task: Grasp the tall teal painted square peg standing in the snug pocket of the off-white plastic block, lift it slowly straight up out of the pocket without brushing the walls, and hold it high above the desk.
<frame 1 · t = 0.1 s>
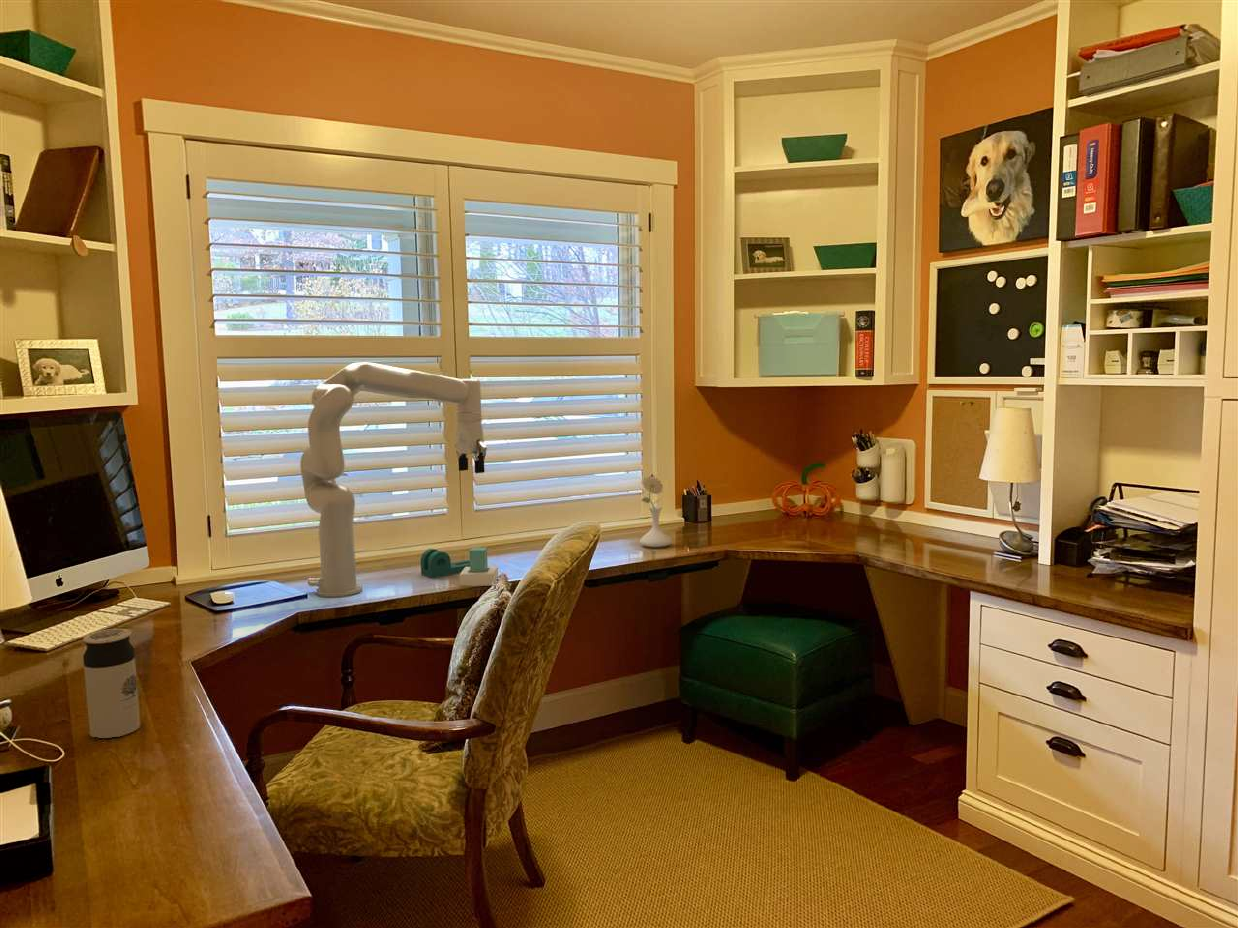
hand: (471, 471, 286), 31 cm above the table, tool pointing down, fingers open, 9 cm apart
teal peg: (478, 565, 270), in the pocket block
pocket block: (479, 581, 271), on the table
travel mug: (115, 732, 163), on the table
flower in vase: (654, 546, 319), on the table
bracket: (452, 572, 285), on the table
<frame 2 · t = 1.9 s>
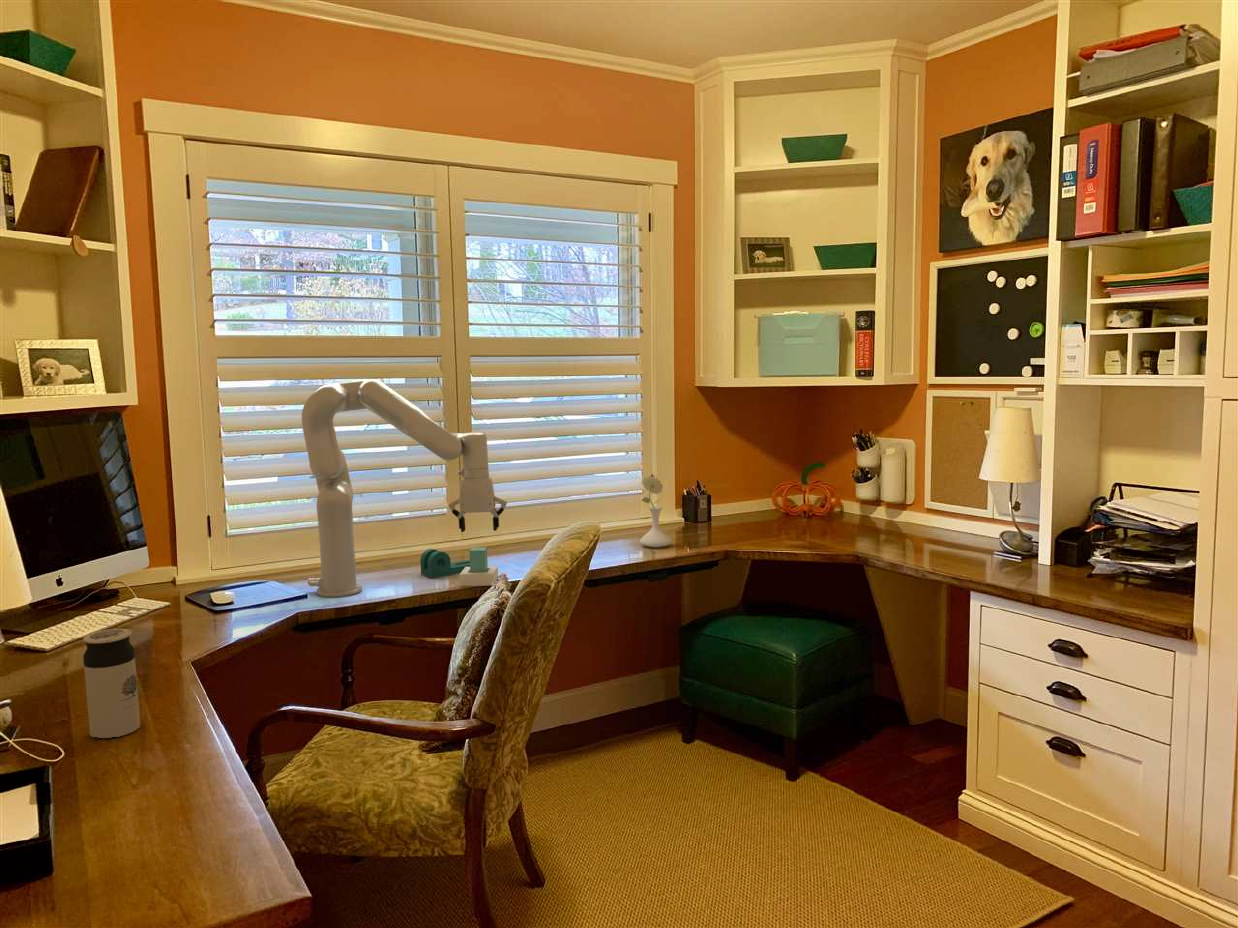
hand: (479, 530, 269), 16 cm above the table, tool pointing down, fingers open, 9 cm apart
nothing on the table moved.
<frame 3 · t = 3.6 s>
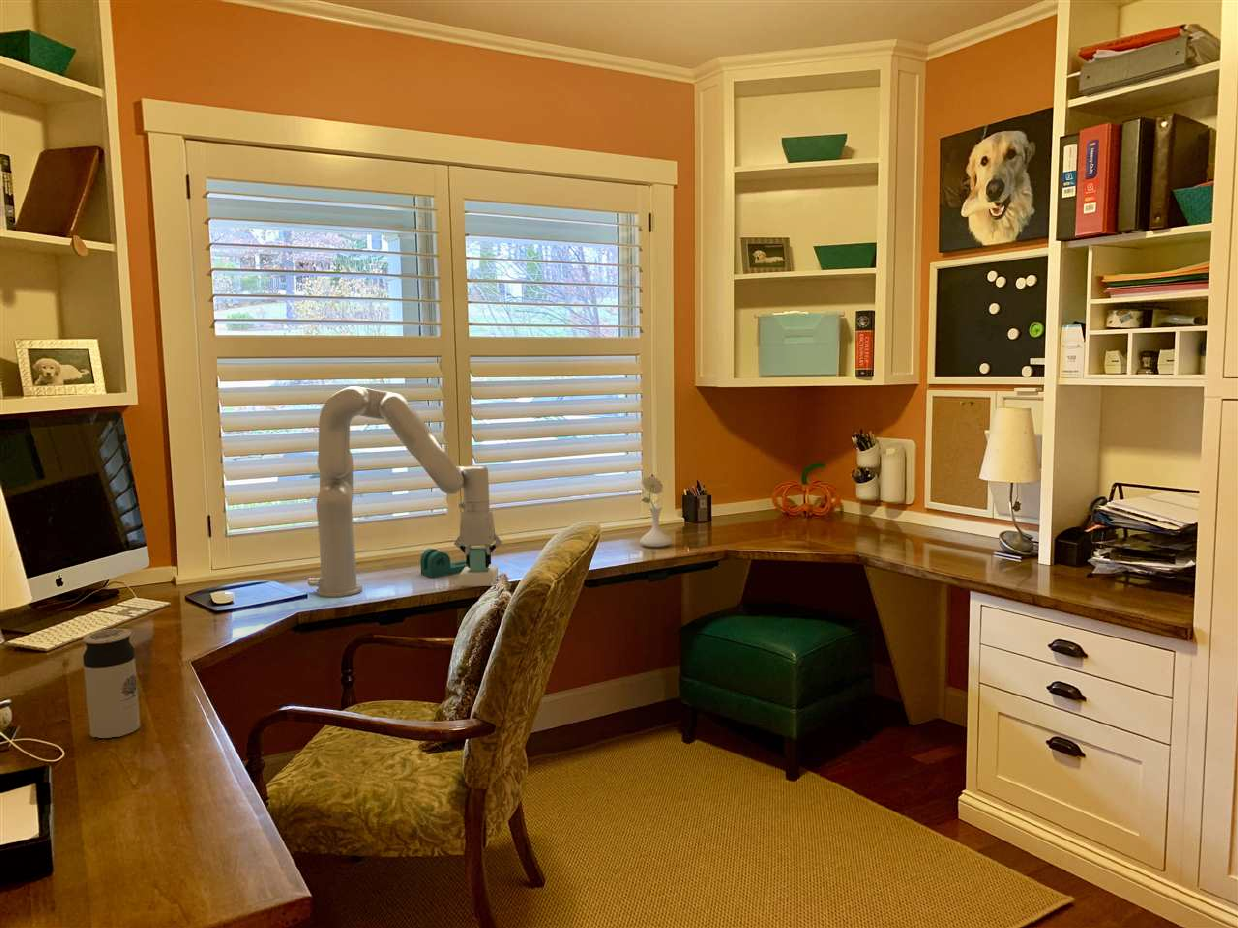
hand: (479, 566, 270), 5 cm above the table, tool pointing down, fingers closed on teal peg, 4 cm apart
teal peg: (478, 565, 270), in the pocket block, touching gripper
everything else where it was.
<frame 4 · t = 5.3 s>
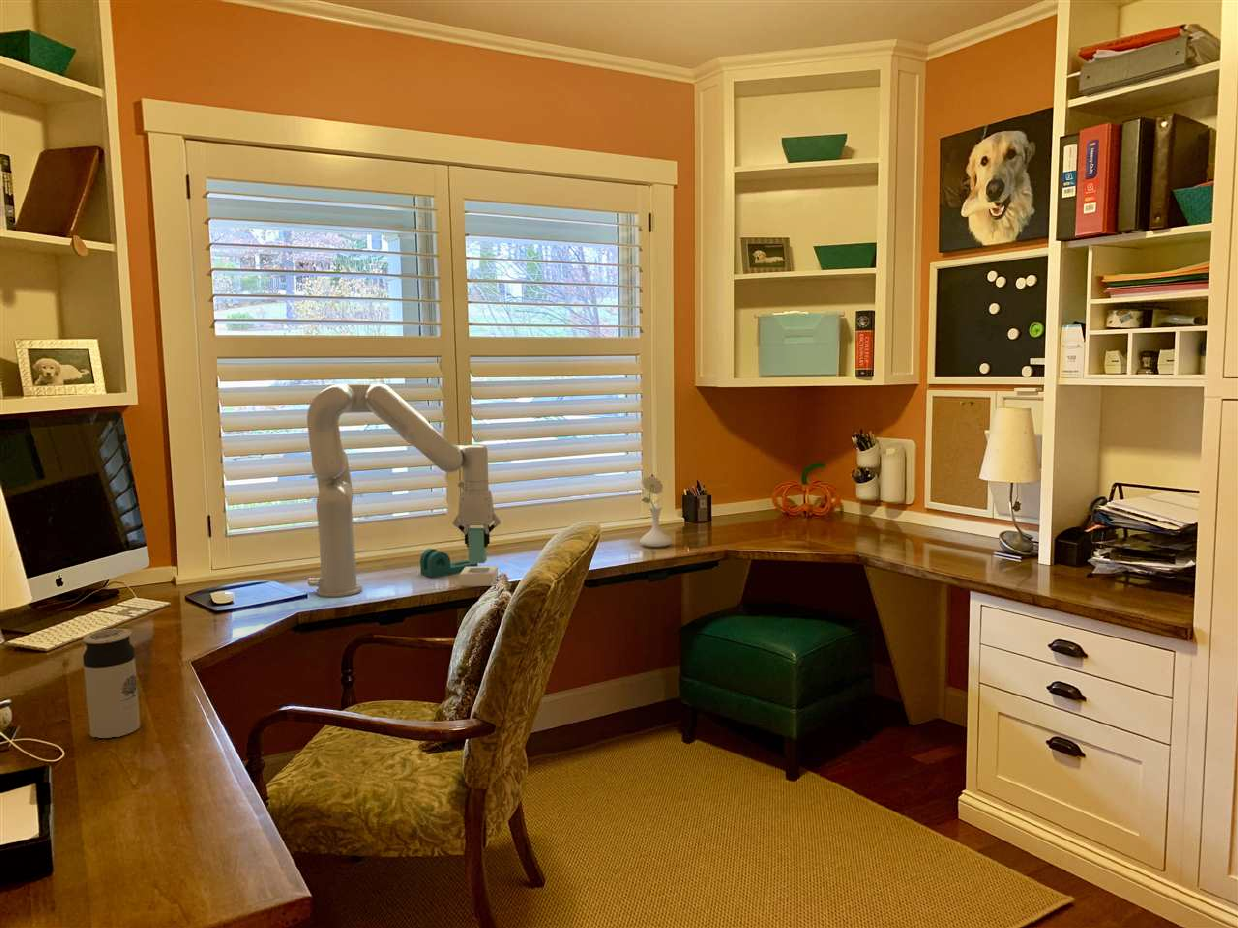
hand: (477, 546, 269), 11 cm above the table, tool pointing down, fingers closed on teal peg, 4 cm apart
teal peg: (477, 545, 269), point 11 cm above the table, touching gripper
everything else where it was.
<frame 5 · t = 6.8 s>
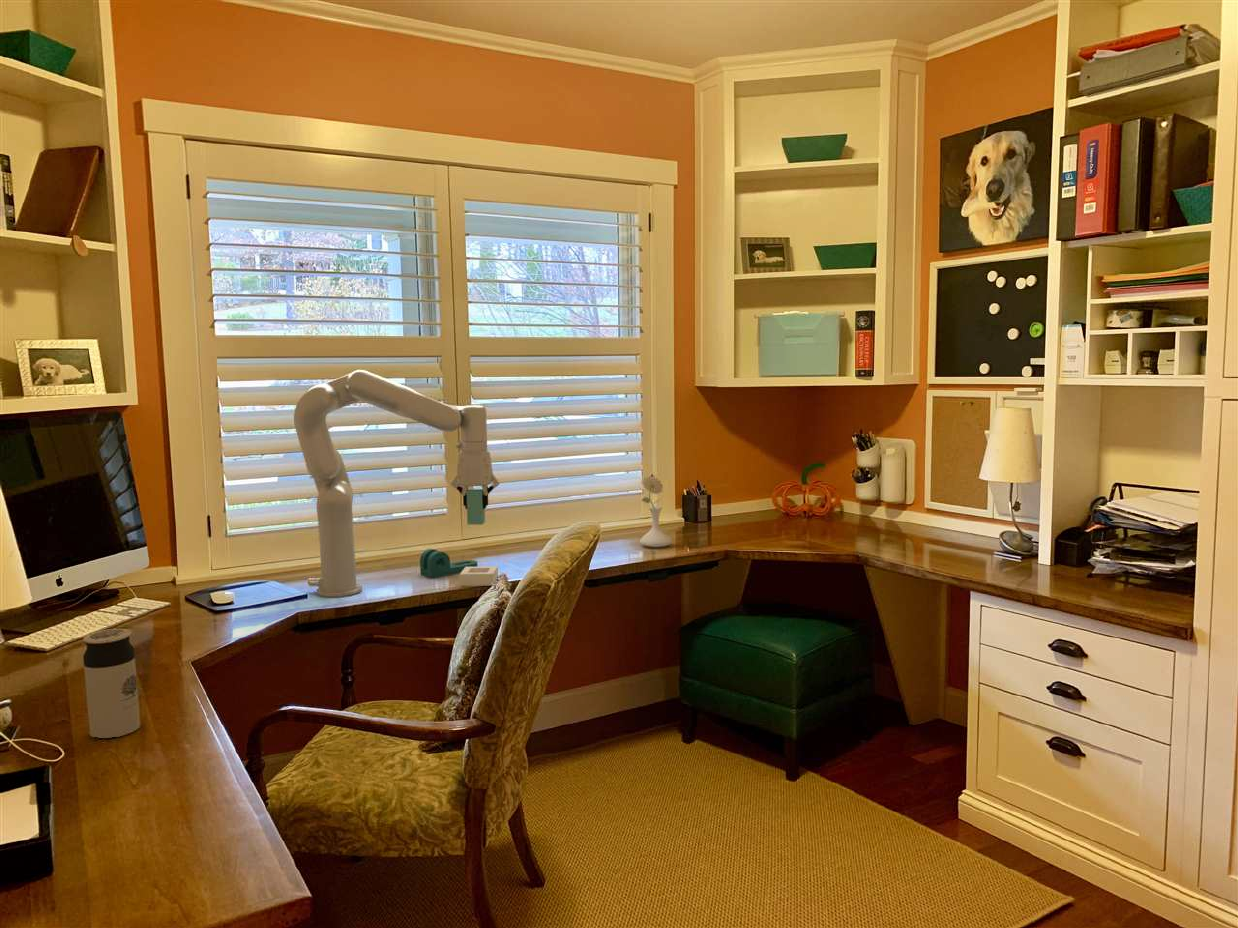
hand: (475, 507, 268), 23 cm above the table, tool pointing down, fingers closed on teal peg, 4 cm apart
teal peg: (475, 506, 268), point 23 cm above the table, touching gripper
everything else where it was.
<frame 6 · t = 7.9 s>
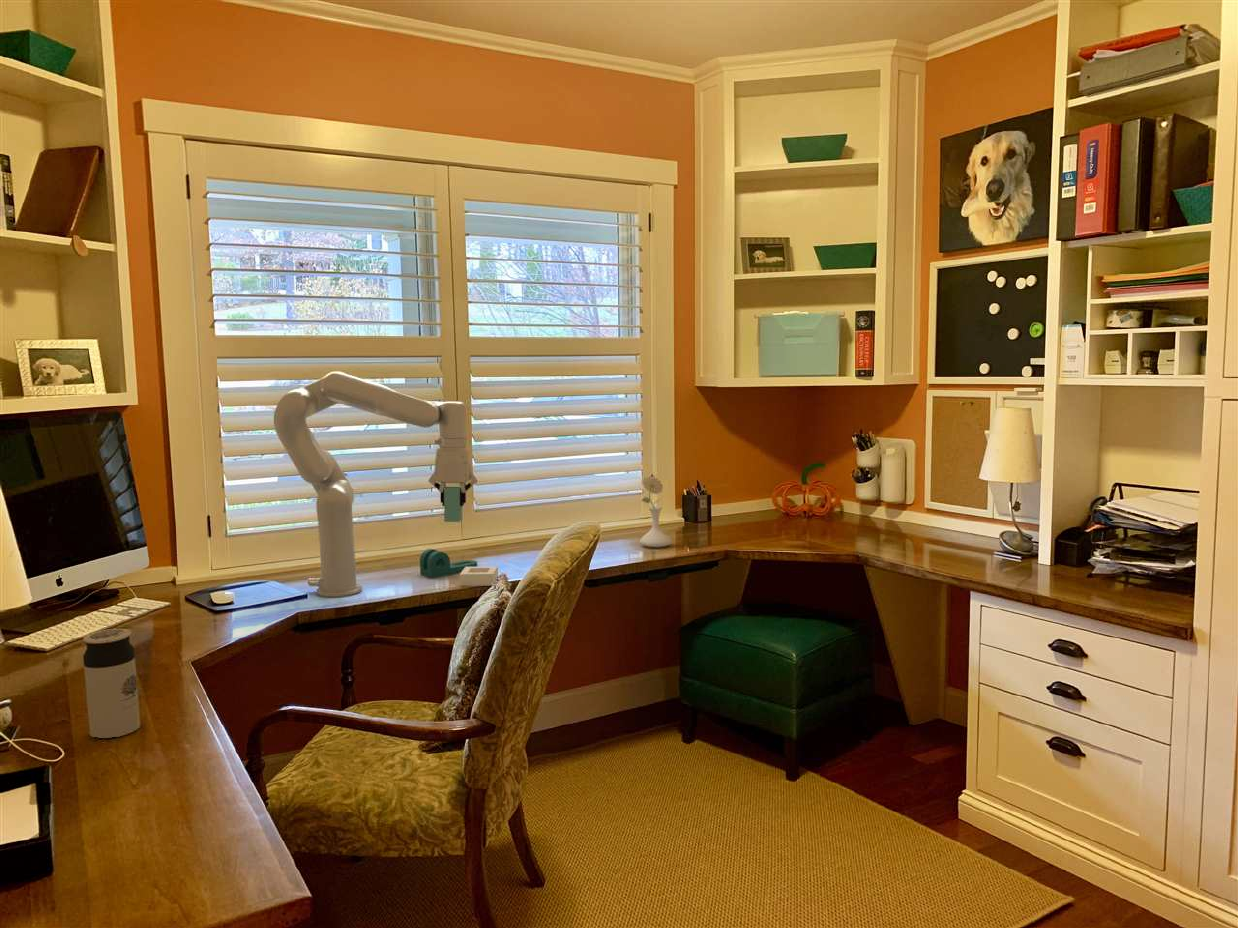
hand: (453, 504, 265), 24 cm above the table, tool pointing down, fingers closed on teal peg, 4 cm apart
teal peg: (453, 503, 265), point 24 cm above the table, touching gripper
everything else where it was.
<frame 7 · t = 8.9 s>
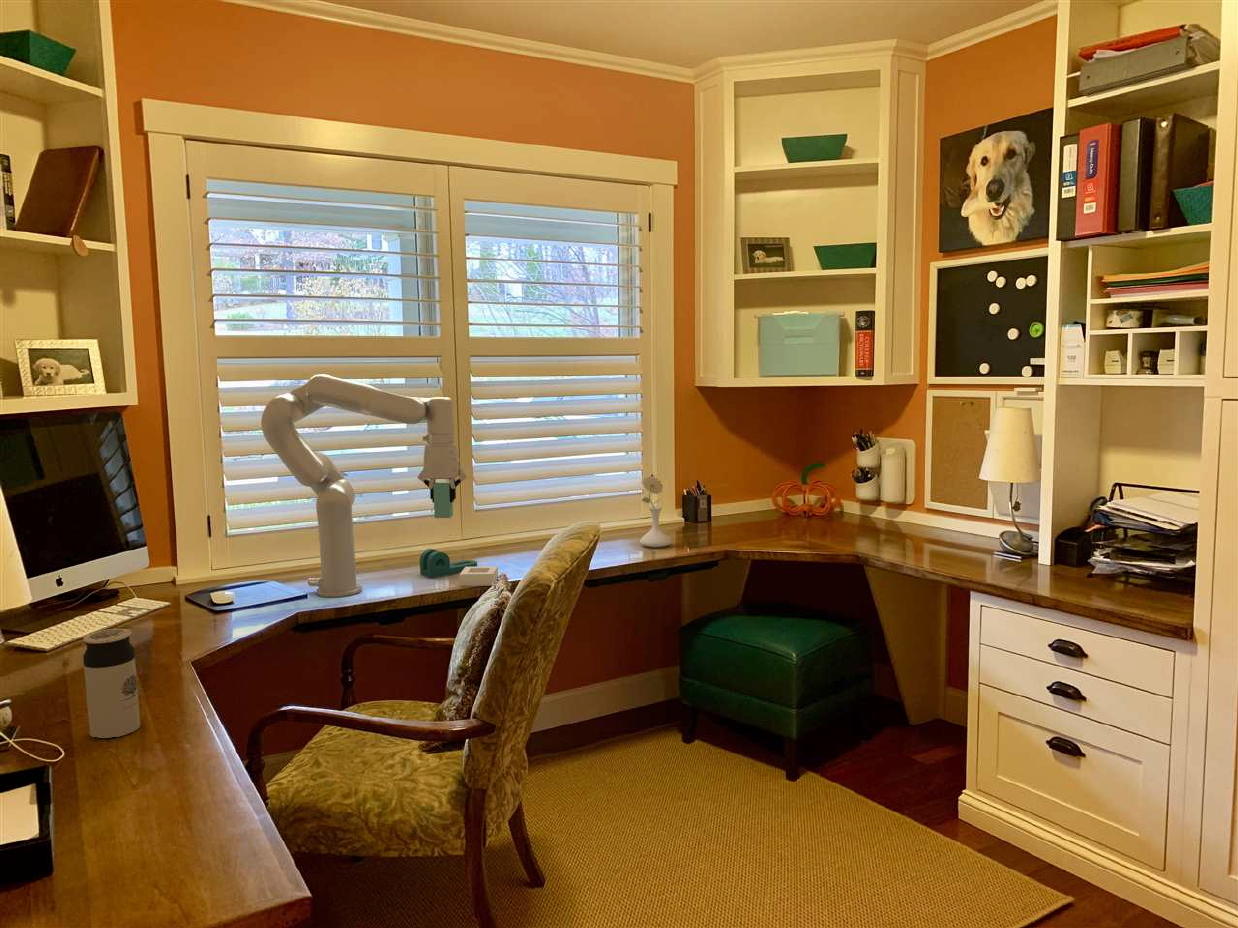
hand: (443, 501, 264), 25 cm above the table, tool pointing down, fingers closed on teal peg, 4 cm apart
teal peg: (443, 500, 264), point 26 cm above the table, touching gripper
everything else where it was.
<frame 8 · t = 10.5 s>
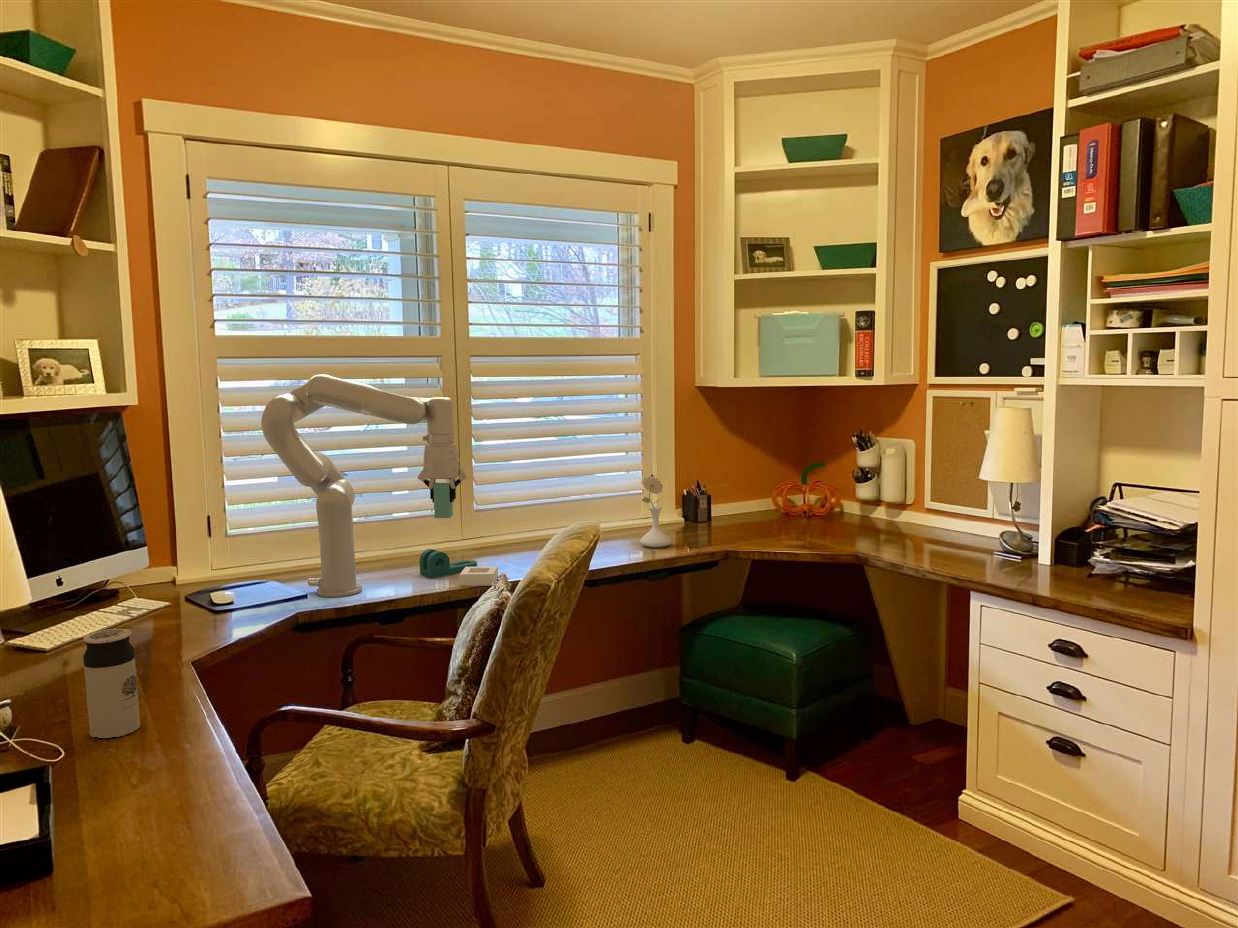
hand: (443, 501, 264), 25 cm above the table, tool pointing down, fingers closed on teal peg, 4 cm apart
teal peg: (443, 500, 264), point 26 cm above the table, touching gripper
everything else where it was.
at the end: the gripper is holding teal peg; teal peg point 25.6 cm above the table; teal peg touching gripper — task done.
